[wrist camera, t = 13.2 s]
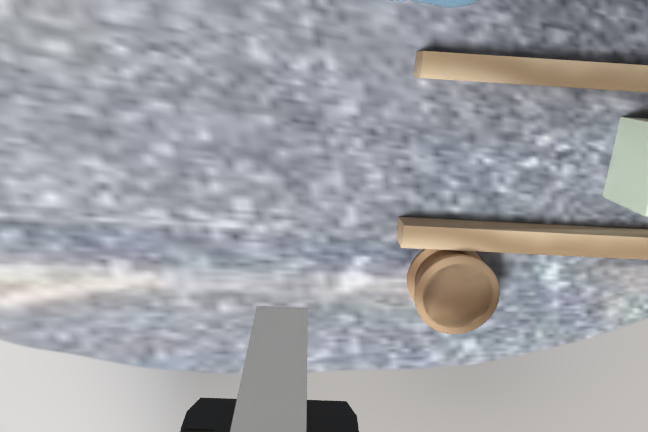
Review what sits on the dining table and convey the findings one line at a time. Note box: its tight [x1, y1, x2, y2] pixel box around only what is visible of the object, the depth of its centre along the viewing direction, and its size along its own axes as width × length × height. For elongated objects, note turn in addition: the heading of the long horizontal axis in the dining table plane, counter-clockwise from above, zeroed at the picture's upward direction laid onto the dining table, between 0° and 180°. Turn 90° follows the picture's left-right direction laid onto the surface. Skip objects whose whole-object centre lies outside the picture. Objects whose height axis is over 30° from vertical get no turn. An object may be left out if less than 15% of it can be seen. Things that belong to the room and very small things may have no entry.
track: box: [397, 51, 648, 260], centre depth 41 cm, size 16×28×5 cm, turn 87°
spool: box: [407, 249, 500, 334], centre depth 45 cm, size 7×7×4 cm
